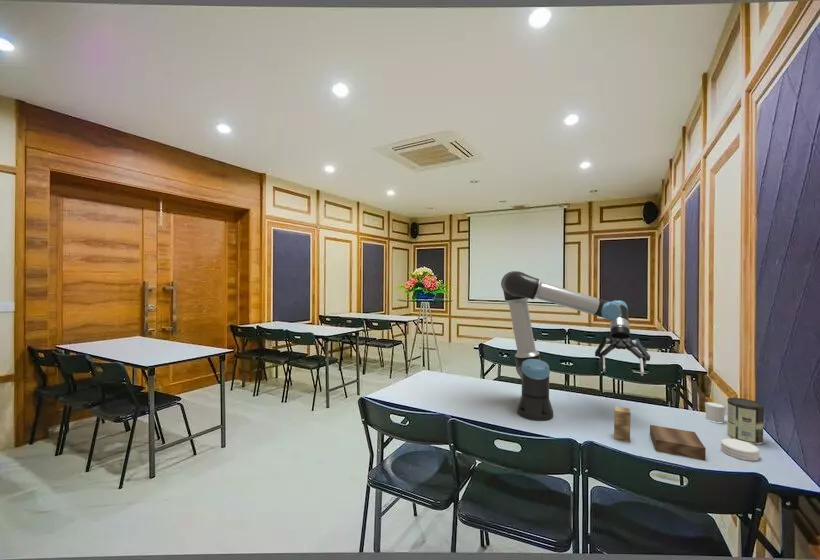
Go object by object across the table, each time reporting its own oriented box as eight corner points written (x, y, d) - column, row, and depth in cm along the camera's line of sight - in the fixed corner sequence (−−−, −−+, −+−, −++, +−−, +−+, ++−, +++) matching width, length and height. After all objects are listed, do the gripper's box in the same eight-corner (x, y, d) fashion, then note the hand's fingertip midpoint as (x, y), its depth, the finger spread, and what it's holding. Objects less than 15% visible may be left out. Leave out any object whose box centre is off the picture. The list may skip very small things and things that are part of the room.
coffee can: (750, 433, 141) (751, 398, 141) (770, 446, 131) (771, 408, 131) (720, 431, 143) (720, 396, 143) (738, 443, 133) (739, 406, 133)
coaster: (713, 449, 129) (713, 439, 129) (734, 446, 131) (734, 436, 131) (744, 463, 119) (745, 453, 119) (767, 459, 122) (767, 449, 122)
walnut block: (655, 450, 127) (655, 439, 127) (649, 434, 140) (650, 424, 140) (705, 460, 121) (705, 448, 121) (694, 442, 133) (694, 432, 133)
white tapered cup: (703, 420, 153) (704, 404, 153) (705, 416, 158) (705, 400, 158) (725, 425, 149) (725, 408, 148) (725, 420, 154) (726, 404, 154)
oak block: (614, 439, 136) (615, 410, 136) (614, 434, 141) (614, 406, 140) (630, 442, 134) (630, 413, 134) (628, 436, 138) (629, 408, 138)
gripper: (652, 337, 157) (658, 380, 144) (588, 333, 168) (589, 373, 155) (654, 326, 152) (660, 370, 139) (588, 323, 164) (589, 364, 150)
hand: (622, 372), depth 147 cm, fingers open, 13 cm apart
